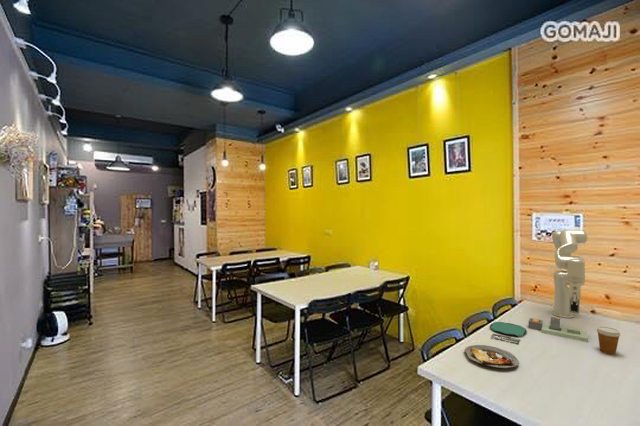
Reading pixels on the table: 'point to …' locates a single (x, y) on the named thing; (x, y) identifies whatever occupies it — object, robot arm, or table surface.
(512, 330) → the green-topped navy dish
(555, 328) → the seated billet
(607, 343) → the disposable coffee cup
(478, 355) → the food plate
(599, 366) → the table surface
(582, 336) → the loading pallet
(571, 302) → the knobbed taupe block
